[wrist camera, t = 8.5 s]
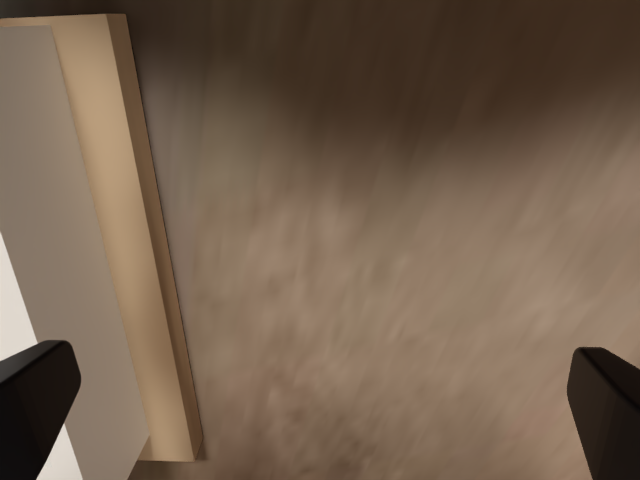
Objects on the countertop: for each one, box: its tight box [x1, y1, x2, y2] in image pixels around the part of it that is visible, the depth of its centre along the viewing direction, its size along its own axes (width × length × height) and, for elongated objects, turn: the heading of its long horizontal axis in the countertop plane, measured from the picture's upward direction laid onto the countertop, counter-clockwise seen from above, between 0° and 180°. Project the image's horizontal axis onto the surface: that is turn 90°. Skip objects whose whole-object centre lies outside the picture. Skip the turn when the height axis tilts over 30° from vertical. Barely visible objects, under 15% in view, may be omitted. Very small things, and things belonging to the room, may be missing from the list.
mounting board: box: [0, 14, 203, 462], centre depth 20 cm, size 10×20×5 cm, turn 2°
